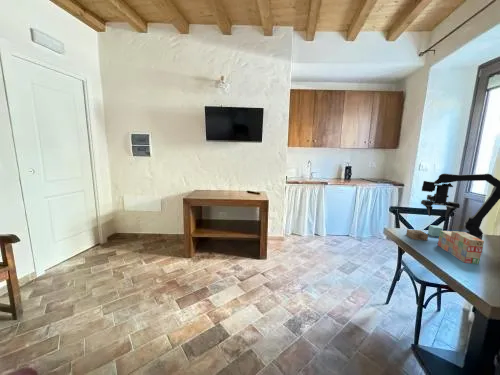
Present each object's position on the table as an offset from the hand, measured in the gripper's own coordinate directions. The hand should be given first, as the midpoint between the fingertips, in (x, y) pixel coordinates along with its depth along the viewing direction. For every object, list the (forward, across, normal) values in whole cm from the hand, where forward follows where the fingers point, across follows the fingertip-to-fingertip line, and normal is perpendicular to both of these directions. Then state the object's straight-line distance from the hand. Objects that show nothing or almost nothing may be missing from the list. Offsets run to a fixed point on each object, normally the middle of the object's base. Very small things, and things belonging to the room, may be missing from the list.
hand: (437, 216), depth 142 cm
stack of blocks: (+13, +4, +30) cm, 33 cm away
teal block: (+13, 0, 0) cm, 13 cm away
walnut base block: (+13, +14, +9) cm, 21 cm away
